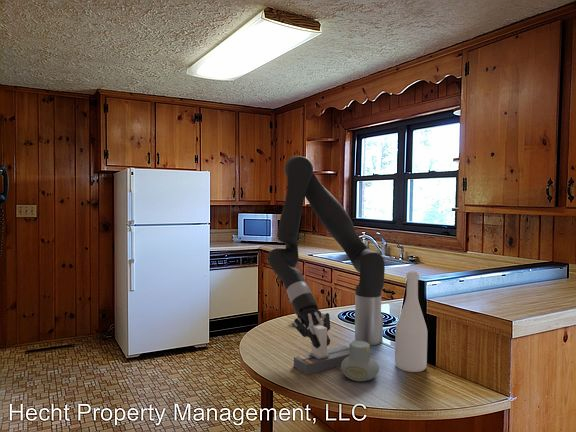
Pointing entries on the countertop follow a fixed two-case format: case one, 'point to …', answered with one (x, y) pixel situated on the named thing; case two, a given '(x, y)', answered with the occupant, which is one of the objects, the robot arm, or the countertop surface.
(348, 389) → the countertop surface
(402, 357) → the wine bottle
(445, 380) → the countertop surface
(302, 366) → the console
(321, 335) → the fader tab
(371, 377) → the air freshener
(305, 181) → the robot arm
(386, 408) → the countertop surface
